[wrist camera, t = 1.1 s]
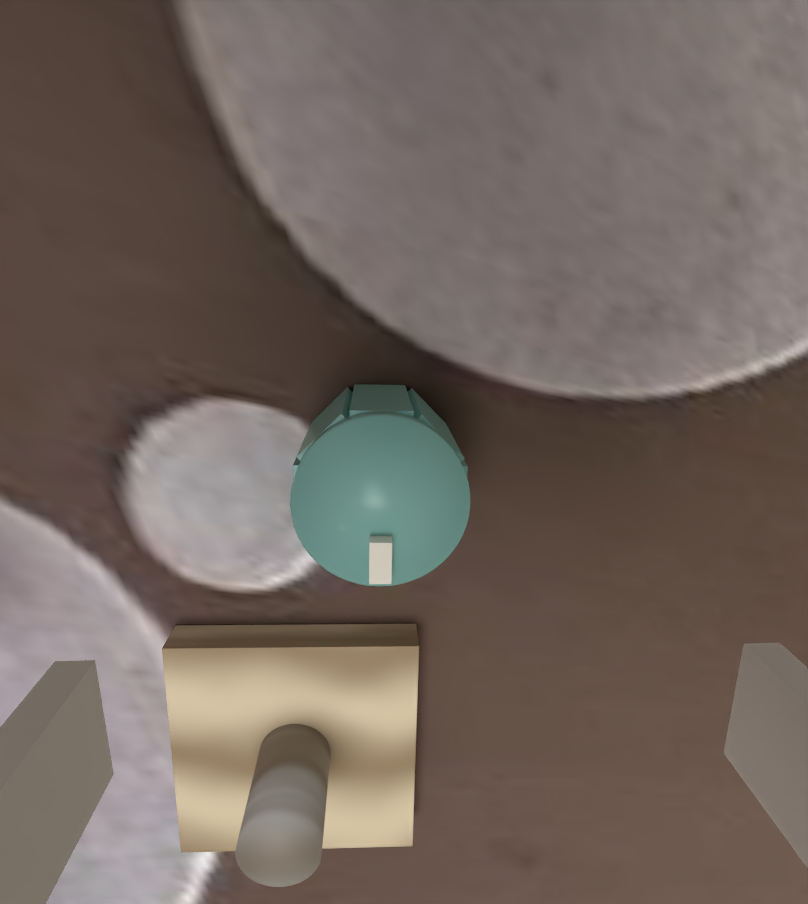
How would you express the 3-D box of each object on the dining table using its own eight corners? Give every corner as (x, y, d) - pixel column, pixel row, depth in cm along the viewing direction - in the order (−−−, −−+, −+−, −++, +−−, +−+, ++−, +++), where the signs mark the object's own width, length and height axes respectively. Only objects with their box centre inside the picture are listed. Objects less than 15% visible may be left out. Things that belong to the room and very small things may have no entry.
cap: (308, 383, 27) (285, 419, 20) (449, 385, 28) (477, 421, 20) (311, 516, 29) (290, 594, 22) (444, 517, 29) (468, 593, 22)
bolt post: (175, 625, 30) (113, 732, 23) (416, 623, 31) (429, 727, 23) (192, 819, 33) (142, 967, 26) (410, 814, 34) (420, 957, 27)
